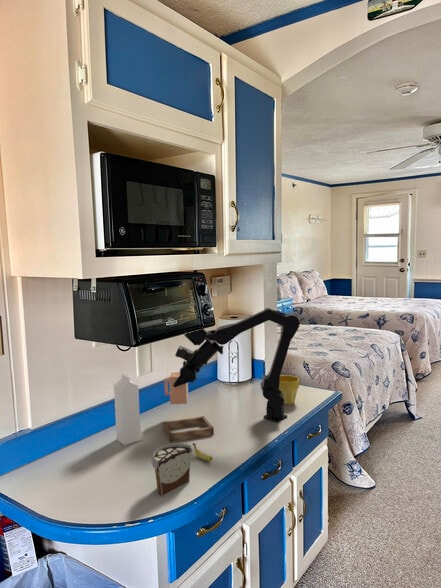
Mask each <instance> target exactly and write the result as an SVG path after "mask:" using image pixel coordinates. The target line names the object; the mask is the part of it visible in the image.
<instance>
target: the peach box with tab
mask: <svg viewBox="0 0 441 588" xmlns="http://www.w3.org/2000/svg"><path fill="white" fill-rule="evenodd" d="M179 376H180V371H179V372H171V373H170V376H169V377H168V378H164V379H163V384H164V385H163V386H164V387H163V388H164V396H169V403H170V405H187V404H188V401H189V382H188V383H185V384H183V385H180V386H178V387H174V386H173V385H174V383H175V382H176V380H177V379H178V377H179ZM168 383H169V388H168ZM168 389H169V390H168Z"/></svg>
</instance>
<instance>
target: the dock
mask: <svg viewBox="0 0 441 588" xmlns="http://www.w3.org/2000/svg"><path fill="white" fill-rule="evenodd" d="M199 425H202V426H203V427H201V428H196V429H188V430H183V431H177V432H172V431H171V430H175V429H181V428H182V429H183V428H186V427H194V426H199ZM214 428H215V427H214V426H213V425H212V424H211V422H209V420H208V419H207V418H206V417H205V416H204V415H202V416H196V417H195V416H194V417H189V418H182V419H176V420H170V421H169V420H168V421H163V422H162V431H163V432H164V434H165V436H166V438H167V440H168V441H169V443H173V442H174V443H175V442H179V441H185V440H190V439H195V438H196V439H197V438H203V437H208V436H214V434H215V432H214V430H215V429H214Z"/></svg>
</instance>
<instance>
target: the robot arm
mask: <svg viewBox="0 0 441 588" xmlns="http://www.w3.org/2000/svg"><path fill="white" fill-rule="evenodd" d="M268 321H270V322H272V323H275V324H276V325H279V326H280V333H279V335H280V336H279V340H278V343H277V346H276V350H275V353H274V356H273V359H272V362H271V366H270V369H269V371H268V373H267V375H266V374H262V380H261V382H260V388H261V391H262V396H263V398H265V399H266V400H267V402H266V407H265V408H266V409H265V411H266V414H265V415H263V418H265V419H267V420H270V421H274V422H276V423H277V422H280V421H282V420H284V419H286V418H288V415H287V414H285V404H284V397H283V394H282V392H281V391H280V390H279V383H280V376H281V374H282V370H283V368H284V363H285V361H286V358H287V354H288V351H289V348H290V345H291V341H292V340H293V339H294V337H295V335H296V334H297V332H298V330H299V328H300V325H301V321H300V320H299V318H298V317H297V315H295V314H294V313H292V312H287V313H284V312H282V311H277V310H274V309H272V308H270V307H267V308H264V309H263V310H261V311H258V312H257V313H255V314H253V315H250V316H248V317H246V318H244V319H242V320H240V321H237V322H234V323H230V324H229V323H228V324H226V325H221V326H218V327H217V328H216V329H212V330H206V329H204V328H203V329H201V330H198V331H194V332H191V333H187V334H185V333H184V334H183V336H184V337H185V338H186V339H187V340H188V341H189V342H191V344H192V345H194V346H199V347H198V349H195V350H191V349H190V348H187V347H185V346H182V345H179V346H178V348H177V350H176V353H175V354H174V356H175V357H177V358H181V360H183V361H182V366H181V367H180V369H179V372H180V376H179V377H178V379H177V380H176V382H175V383H174V385H173V386H174V387H178V386H180V385H183V384H185V383H188V384H189V383H192V384H193V383H195V381H196V380H197V377H198V373H199V372H200V371H201V369H202V368H203V367H204V366H205V365H207V364H208V362H209V361H210V360H211V359H212V358H213V356H215V354H217V353H219V354H220V355H223V354H224V345H226V344H228V343H230V342H231V341H232V340H234V339H235V338H236V337H238V336H239V335H240V334H242V333H244V332H245V331H249V330H251V329H253V328H255V327H257V326H259V325H261V324H264V323H265V322H268Z"/></svg>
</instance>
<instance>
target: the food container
mask: <svg viewBox="0 0 441 588" xmlns="http://www.w3.org/2000/svg"><path fill="white" fill-rule="evenodd" d="M192 453H193V448H192V446H191V445H190V444H188V443H187V444H185V443H170V444H166V445H162V446H160V447H158V448H157V449H156V450H154V452H153V455H152V458H151V466H152V467H153V468H154V473H155V481H156V489H157V493H158V495H159V496H160V497H161V498H163V497H165V496H166V495H169V494H170V493H172V492H174V491H176V490H177V489H180V488H181V487H183V486H185V485H187V484H189V483H190V479H191V478H190V476H191V456H192V455H191V454H192Z"/></svg>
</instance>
